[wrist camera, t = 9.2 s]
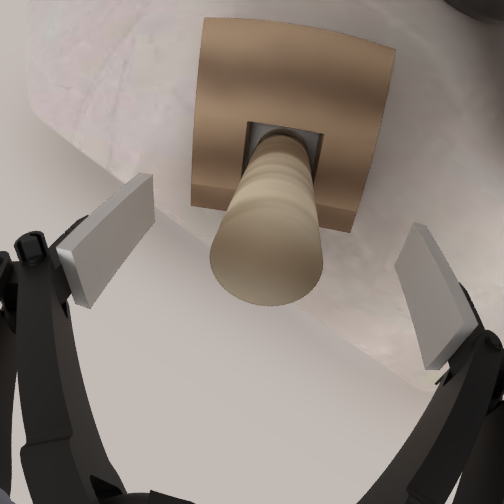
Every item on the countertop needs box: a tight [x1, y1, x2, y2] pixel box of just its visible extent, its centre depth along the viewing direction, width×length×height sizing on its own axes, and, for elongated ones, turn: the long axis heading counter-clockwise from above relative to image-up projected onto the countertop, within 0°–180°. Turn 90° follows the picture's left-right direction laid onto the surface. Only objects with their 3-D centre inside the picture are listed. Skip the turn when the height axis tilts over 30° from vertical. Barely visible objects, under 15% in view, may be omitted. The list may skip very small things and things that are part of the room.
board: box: [191, 18, 396, 233], centre depth 21 cm, size 16×14×3 cm
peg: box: [210, 129, 323, 306], centre depth 18 cm, size 4×4×16 cm
